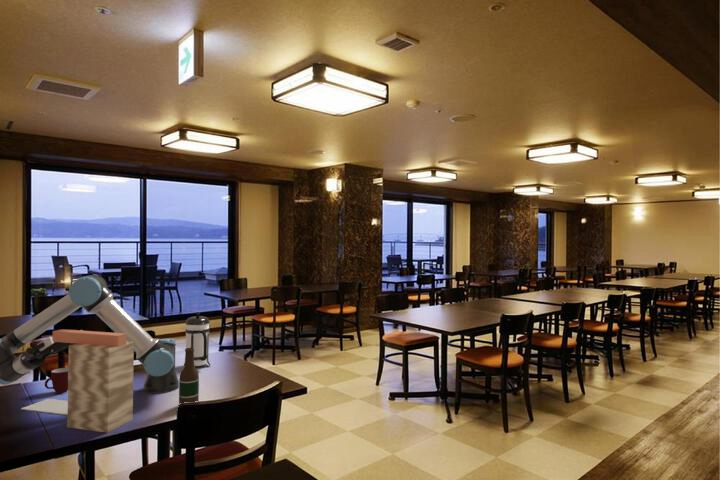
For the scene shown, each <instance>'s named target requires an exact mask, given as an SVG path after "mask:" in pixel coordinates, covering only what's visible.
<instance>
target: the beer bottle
mask: <svg viewBox="0 0 720 480" xmlns="http://www.w3.org/2000/svg"><path fill="white" fill-rule="evenodd" d="M184 352H185V354H184V363H185V365H184V364H183V368H182V369H181V371H180V374H179V378H178V380H179V387H178V389H179V390H178V405H179V404H180V403H184V402H195V401H198V402H199V398H200V394H199V390H200V389H199V388H200V384H199V382H200V377H199V372H198V370H197V368H196V366H194V348H187V349H186V348H185V349H184Z"/></svg>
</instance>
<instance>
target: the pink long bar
mask: <svg viewBox="0 0 720 480" xmlns="http://www.w3.org/2000/svg"><path fill="white" fill-rule="evenodd" d="M80 330H81V329H80ZM80 330H77V329H63V328H62V329H57V330H52V340H53V342H54V343H59V342H65V343H76V344H91V345H104V346H116V347H118V346H122V345H125V344H126V334H124V333H115V332H108V331H107V332H106V331H96V330H95V331H92V330H83V331H80Z"/></svg>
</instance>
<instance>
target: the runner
mask: <svg viewBox="0 0 720 480" xmlns="http://www.w3.org/2000/svg"><path fill="white" fill-rule="evenodd" d="M20 410H21V411H30V412H37V413H44V414H45V413H47V414H51V415H52V414H53V415H62V416H68V400H65V399H53V398H46V399H43V400H41V401H38V402H36V403H32V404H30V405H27V406H25V407H21V408H20Z"/></svg>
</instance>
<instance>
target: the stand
mask: <svg viewBox="0 0 720 480" xmlns="http://www.w3.org/2000/svg"><path fill="white" fill-rule="evenodd" d="M134 355H135V351H134V342H127V341H126V344H125V345H122V346H118V347H116V346H104V345H91V344H78V343H76V344H73V345H70V346H69V347H68V367H67V368H68V390H67V401H68V415H66V417H67V418H66V419H67V423H66V425H67V426H66V427H67V428H71V429H78V430H84V431H85V430H86V431H91V432H92V431H93V432H99V433H100V432H102V433H111V432H112V431H114V430H116V429H117V428H120V427H122V426H123V425H125V424H128V423H130V422H131V421H133V419H134V416H133V415H134V413H133V412H134V368H135V367H134V363H135V359H134V358H135V357H134Z"/></svg>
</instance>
